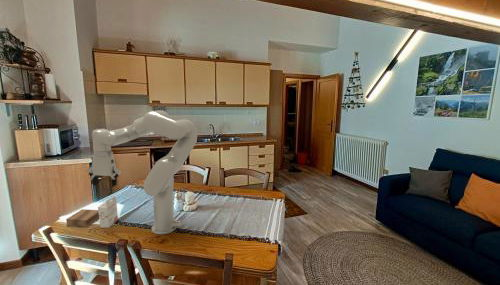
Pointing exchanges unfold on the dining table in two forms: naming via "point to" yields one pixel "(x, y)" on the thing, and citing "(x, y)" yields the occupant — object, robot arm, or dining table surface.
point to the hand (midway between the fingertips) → (105, 185)
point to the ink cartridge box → (108, 213)
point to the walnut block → (83, 218)
